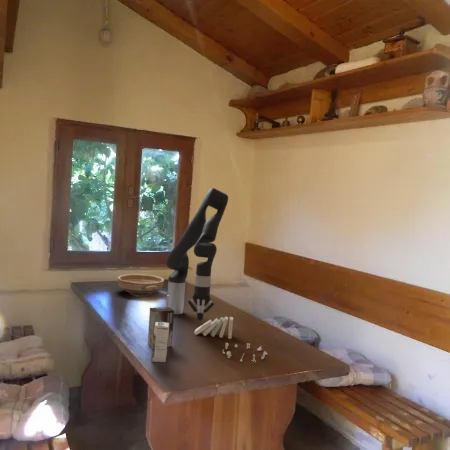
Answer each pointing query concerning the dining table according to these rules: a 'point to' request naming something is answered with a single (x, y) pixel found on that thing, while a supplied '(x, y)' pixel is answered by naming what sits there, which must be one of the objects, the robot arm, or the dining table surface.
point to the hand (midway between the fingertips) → (199, 320)
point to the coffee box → (159, 316)
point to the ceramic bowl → (140, 284)
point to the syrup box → (160, 342)
